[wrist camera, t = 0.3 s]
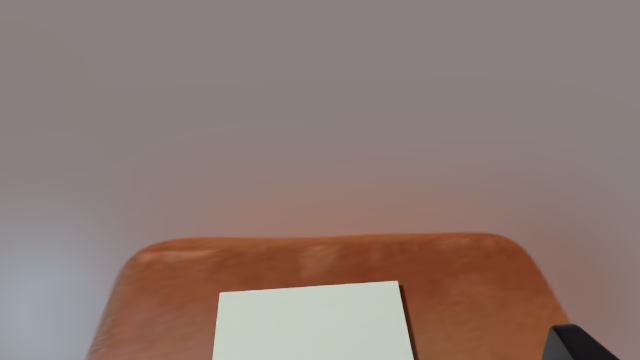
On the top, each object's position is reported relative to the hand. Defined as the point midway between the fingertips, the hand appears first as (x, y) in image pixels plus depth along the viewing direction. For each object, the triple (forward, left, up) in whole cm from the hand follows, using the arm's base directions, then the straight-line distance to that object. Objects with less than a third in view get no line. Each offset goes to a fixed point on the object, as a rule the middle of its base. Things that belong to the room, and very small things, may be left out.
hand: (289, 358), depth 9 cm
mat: (+10, 0, -16) cm, 19 cm away
